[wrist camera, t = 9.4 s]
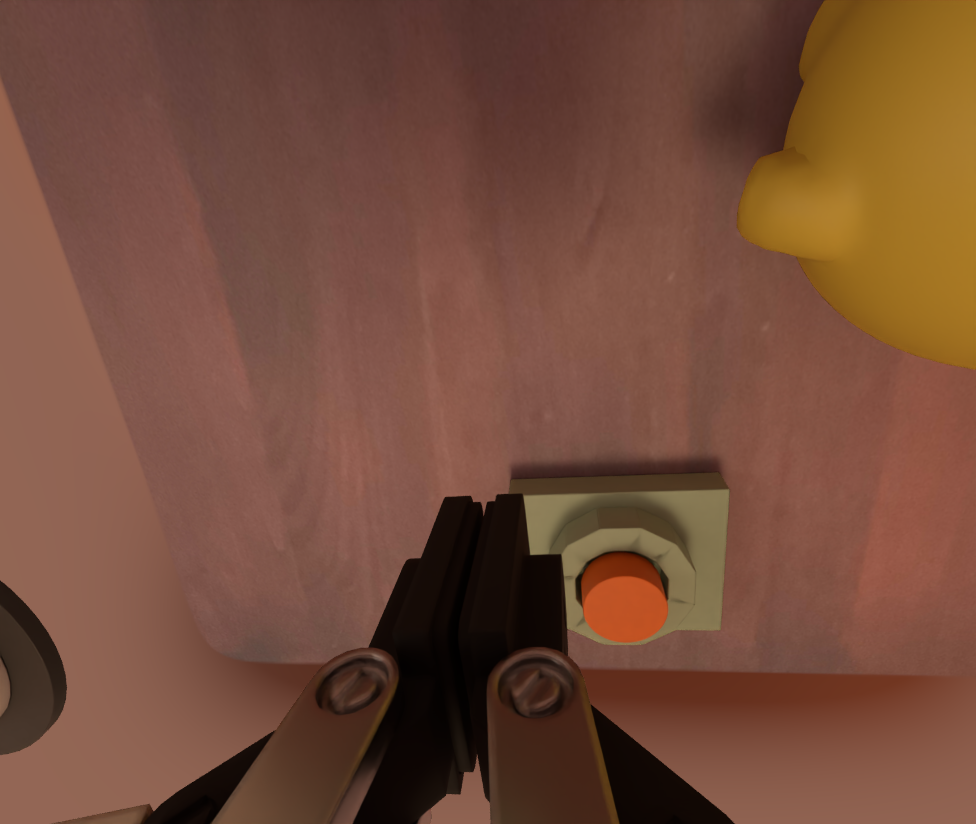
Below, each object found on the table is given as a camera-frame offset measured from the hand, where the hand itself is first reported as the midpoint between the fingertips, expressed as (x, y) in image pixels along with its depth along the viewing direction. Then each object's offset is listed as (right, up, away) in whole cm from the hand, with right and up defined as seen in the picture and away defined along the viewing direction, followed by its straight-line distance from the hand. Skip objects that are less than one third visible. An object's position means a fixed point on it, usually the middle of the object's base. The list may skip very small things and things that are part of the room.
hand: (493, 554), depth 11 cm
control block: (+6, -4, +16) cm, 18 cm away
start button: (+6, -5, +13) cm, 15 cm away
